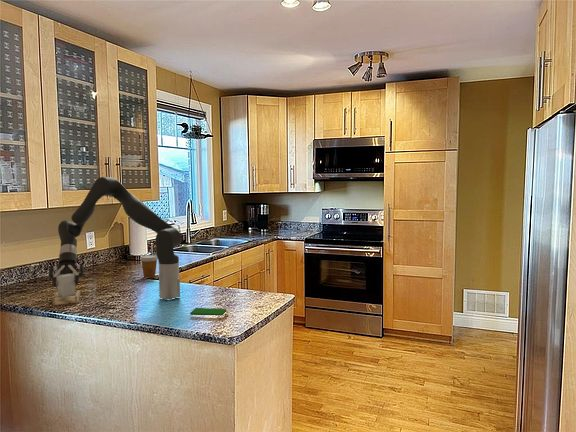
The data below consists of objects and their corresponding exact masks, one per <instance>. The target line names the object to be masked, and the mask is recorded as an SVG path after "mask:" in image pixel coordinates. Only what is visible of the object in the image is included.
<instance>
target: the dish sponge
mask: <svg viewBox="0 0 576 432" xmlns="http://www.w3.org/2000/svg"><path fill="white" fill-rule="evenodd" d="M226 310H227V311H228V309H226V308H209V307H208V308H207V307H195V308H193V310H192V311H191V312H190V313H189V315H223V314H224V313H225V312H226Z"/></svg>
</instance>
